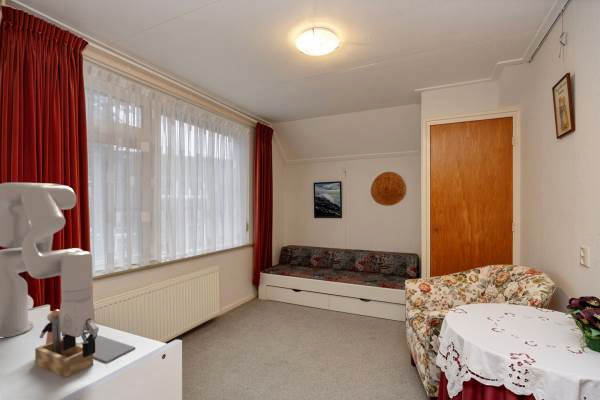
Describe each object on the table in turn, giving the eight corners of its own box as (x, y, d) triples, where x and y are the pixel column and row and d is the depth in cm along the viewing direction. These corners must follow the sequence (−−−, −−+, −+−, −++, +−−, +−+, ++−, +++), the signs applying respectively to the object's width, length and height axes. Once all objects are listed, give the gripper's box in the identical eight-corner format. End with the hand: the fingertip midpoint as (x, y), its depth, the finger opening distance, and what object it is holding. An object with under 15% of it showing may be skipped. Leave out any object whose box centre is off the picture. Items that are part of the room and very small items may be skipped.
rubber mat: (69, 348, 102) (69, 347, 102) (98, 336, 111) (98, 335, 111) (106, 363, 94) (106, 361, 94) (135, 348, 102) (135, 347, 102)
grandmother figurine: (47, 355, 98) (46, 316, 98) (38, 353, 99) (37, 315, 99) (69, 343, 106) (69, 307, 105) (60, 342, 106) (60, 306, 106)
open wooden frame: (35, 364, 93) (35, 348, 93) (63, 352, 100) (63, 337, 100) (65, 378, 86) (65, 360, 86) (93, 364, 93) (93, 348, 93)
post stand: (48, 362, 94) (47, 310, 93) (59, 357, 97) (58, 307, 96) (54, 365, 93) (53, 312, 92) (65, 360, 95) (64, 308, 95)
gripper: (46, 294, 89) (48, 351, 90) (81, 302, 82) (83, 364, 82) (74, 287, 96) (75, 340, 96) (108, 293, 89) (110, 351, 89)
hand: (79, 351), depth 89 cm, fingers open, 9 cm apart
